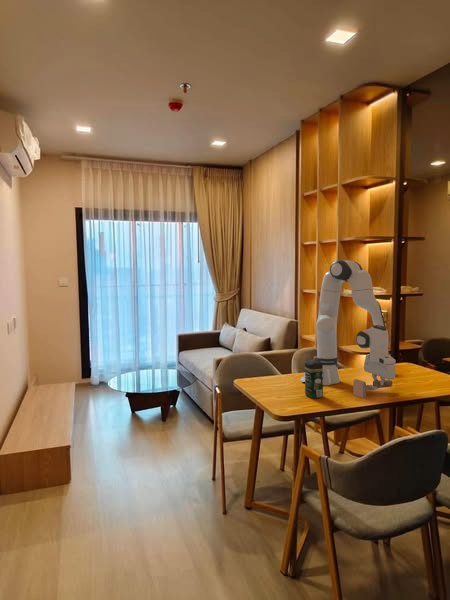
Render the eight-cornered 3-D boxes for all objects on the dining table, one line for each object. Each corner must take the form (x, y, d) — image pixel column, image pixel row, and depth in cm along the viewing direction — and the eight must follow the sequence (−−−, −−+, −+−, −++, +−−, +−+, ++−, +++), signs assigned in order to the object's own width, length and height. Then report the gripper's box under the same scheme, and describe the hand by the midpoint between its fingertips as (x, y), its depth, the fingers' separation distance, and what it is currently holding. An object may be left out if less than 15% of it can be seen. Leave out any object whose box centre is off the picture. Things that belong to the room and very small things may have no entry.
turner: (386, 384, 215) (386, 378, 214) (394, 387, 209) (394, 381, 209) (359, 387, 209) (359, 381, 209) (366, 390, 204) (366, 384, 203)
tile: (356, 394, 209) (356, 379, 208) (365, 398, 202) (365, 382, 202) (353, 394, 208) (353, 379, 208) (362, 398, 202) (362, 382, 201)
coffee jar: (302, 394, 212) (302, 359, 211) (316, 392, 214) (315, 357, 213) (311, 399, 202) (310, 362, 201) (325, 397, 204) (325, 361, 203)
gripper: (361, 354, 217) (360, 379, 218) (387, 361, 198) (386, 389, 199) (371, 353, 219) (370, 378, 220) (398, 360, 200) (397, 388, 201)
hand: (378, 383), depth 209 cm, fingers closed on turner, 3 cm apart
